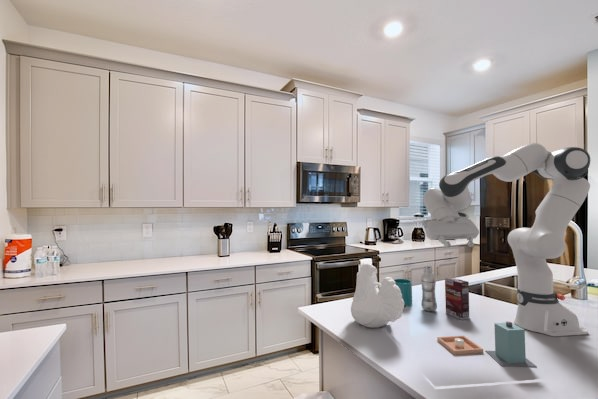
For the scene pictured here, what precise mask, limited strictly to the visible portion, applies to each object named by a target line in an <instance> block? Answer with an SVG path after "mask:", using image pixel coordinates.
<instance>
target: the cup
mask: <svg viewBox="0 0 598 399" xmlns="http://www.w3.org/2000/svg"><path fill="white" fill-rule="evenodd" d="M393 280H394V281H395V282H396V284H395V285H397V286H398V287H399V288H400V290H401V294H402V299H403V300H404V307H410V306H411V305H413V283H412V282H413V281H412V280H410V279H406V278H395V279H393Z"/></svg>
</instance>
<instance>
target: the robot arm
mask: <svg viewBox="0 0 598 399" xmlns="http://www.w3.org/2000/svg"><path fill="white" fill-rule="evenodd" d="M590 164H591V156H590V154H589V152H588V151H587V150H586V149H584V148H582V147H577V146H571V147H564V148H561V149H557V150H554V151H548V150H547V148H545V147H544V146H543V145H542V144H540V143H537V142H531V143H527V144H525V145H522V146H520V147H517V148H516V149H513V150H511V151H510V152H508V153H505V154H504V155H501V156H500V155H498V156H497V155H496V156H492V157H488V158H485V159H483V160H481V161H479V162H476V163H474V164H472V165H470V166H467V167H465V168H463V169H460V170H457V171H453V172H450V173H449V172H448V173H447V174H446V175H444V176H443V177H442V178H441V179H440V181H439V183H438V186H439V188H436V187H432V188H429V189H427V190H426V191H425V192H424V194H423V197H422V201H423V204H424V207H425V209H426V211H427V213H429V214H430V218H431V219H424V220H423V221H422V226H423V227H424V230H425V234H426V237H427V238H428V239H429V240H434V241H435V240H438V242H439V243H441V244H442V245H443V246H444V247H445V248H446V249H447V248H450V247H451V246H452V244H451V243H450V241H447V240H466V241H467V243H466V244H467V246H468V247H469V248H473V247H474V246H475V242H474V241H473V240H475V239H476V238H477V237H478V236H479V234H480V230H479V229H478V227H477V226H476V224H475V223H474V221H473V220H471V219H469V217H470V216H469V214H467V213H466V212H462V211H463V210H466V209H467V208H469V206H470V205H471V204H472V197H471V193H470V189H469V186H470V184H471V183H472V182H474V181H477V180H479V179H482V178H483V177H486V176H489V175H493V176H494V177H495V178H497V179H498V180H500V181H503V182H505V183H506V182H507V183H508V182H509V183H511V182H514V181H517V180H519V179H522V178H524V177H525V176H527V175H528V174H530V173H532V172H533V173H534V174H535V175H537V176H538V177H539V178H540V179H544V180H552V186H551V188H550V189H549V191H548V192H547V193H546V195H545V196H544V198H543V200H542V201H541V202H540V203H539V205H538V206H537V208H536V210H535V211H534V213H535V214H534V215H535V218H534V221H533V222H534V223H533V225H532V226H531V227H519V228H515V229H513V230H511V231H510V232H509V233H508V235H507V243H508V245H509V247H510V248H511V250H512V254H513V258H514V262H515V265H516V270H517V271H516V272H517V288H516V299H517V308H516V309H517V310H516V315H515V318H514V324H515V325H517V326H519V327H521V328H523V329H525V330H528V331H531V332H536V333H541V334H545V335H548V336H550V337H564V336H565V337H566V336H582V335H589V332H588V330H587V329H586V328H585V327H583V326H582V325H581V324H580V322H579V318H578V316H577V315H576V313H575V312H573V311H572V310H570V309H569V308H567V307H566V306H565V305H563V304H562V303H560V301H565V300H566V296H565V295H563V294H561V293H558V294H557V293H556V292H555V291H554V275H553V271H552V269H551V268H550V267H549V265H548V262H547V260H553V259H557V258H559V257H561V256H562V255H563V254H564V253H565V251H566V243H565V240H564V239H565V234H566V230H567V228H568V226H569V225H570V223H571V221H572V220H573V218H574V217H575V215H576V214H577V213H578V210H580V208H581V206H582V205H583V203H584V202H585V200H586V198H587V197H588V194H589V192H590V189H591V184H590V182H589V181H588V180H587V179H586V178H585V177H586V176H587V175H588V174H589V168H590ZM559 300H560V301H559Z"/></svg>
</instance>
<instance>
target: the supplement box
mask: <svg viewBox="0 0 598 399" xmlns="http://www.w3.org/2000/svg"><path fill="white" fill-rule="evenodd" d="M444 285H445V288H444V289H445V291H444V294H445V295H444V296H445V298H444V299H445V314H446V315H450V316H452V317H455V318H457V319H460V320H462V321H463V320H466V319H470V289H469V287H470V286H469V285H470V284H469V281H466V280H463V279H460V278H455V277H453V276H452V277H446V278H444Z"/></svg>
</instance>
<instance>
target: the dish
mask: <svg viewBox="0 0 598 399" xmlns="http://www.w3.org/2000/svg"><path fill="white" fill-rule="evenodd" d="M436 340H437V342H438V343H439V344H441V345H442V346H443V347H445V348H446V349H447V350H448V351H449V352H450V353H452V354H453V355H455V356H457V355H472V354H483V353H484V348H482V347H481V346H479V345H478V344H477V343H475V342H474V341H472V340H471V339H469V338H468V337H466V336H465V335H452V336H450V335H449V336H437V339H436Z"/></svg>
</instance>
